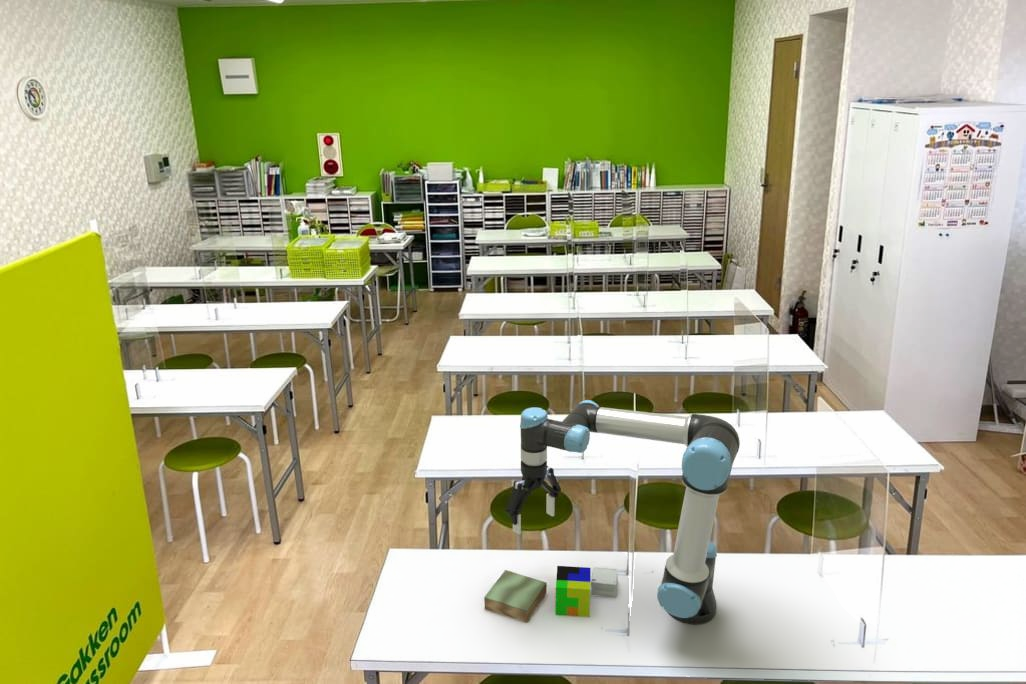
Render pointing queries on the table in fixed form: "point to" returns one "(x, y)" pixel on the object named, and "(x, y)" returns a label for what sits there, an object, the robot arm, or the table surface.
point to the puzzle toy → (573, 591)
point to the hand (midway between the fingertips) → (533, 523)
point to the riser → (515, 596)
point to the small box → (604, 582)
